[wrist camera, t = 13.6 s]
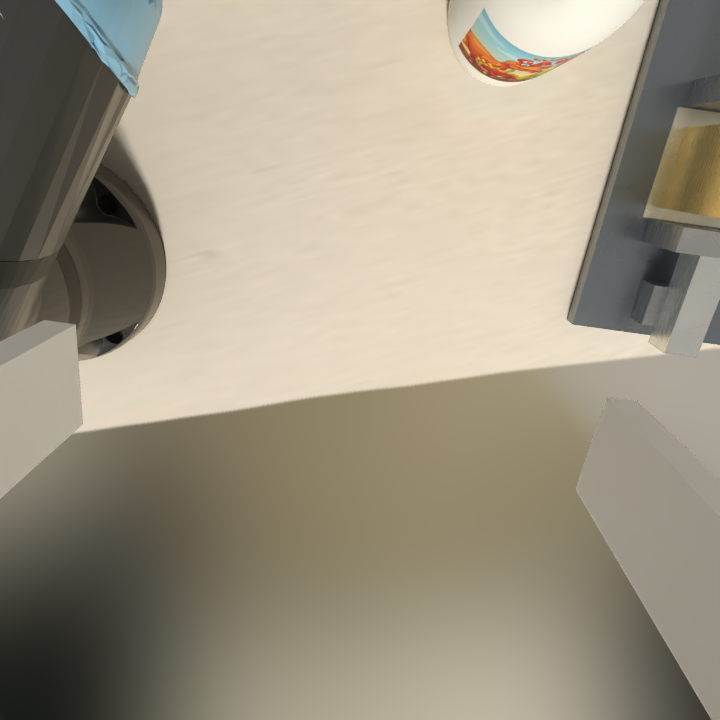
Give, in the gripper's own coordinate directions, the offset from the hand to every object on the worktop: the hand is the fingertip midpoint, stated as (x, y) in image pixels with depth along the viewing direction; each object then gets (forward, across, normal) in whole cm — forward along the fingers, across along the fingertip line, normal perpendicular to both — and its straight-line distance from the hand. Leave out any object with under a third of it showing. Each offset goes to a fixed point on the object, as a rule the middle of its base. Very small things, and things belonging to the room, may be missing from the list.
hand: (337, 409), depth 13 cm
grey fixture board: (+27, +22, +8) cm, 36 cm away
